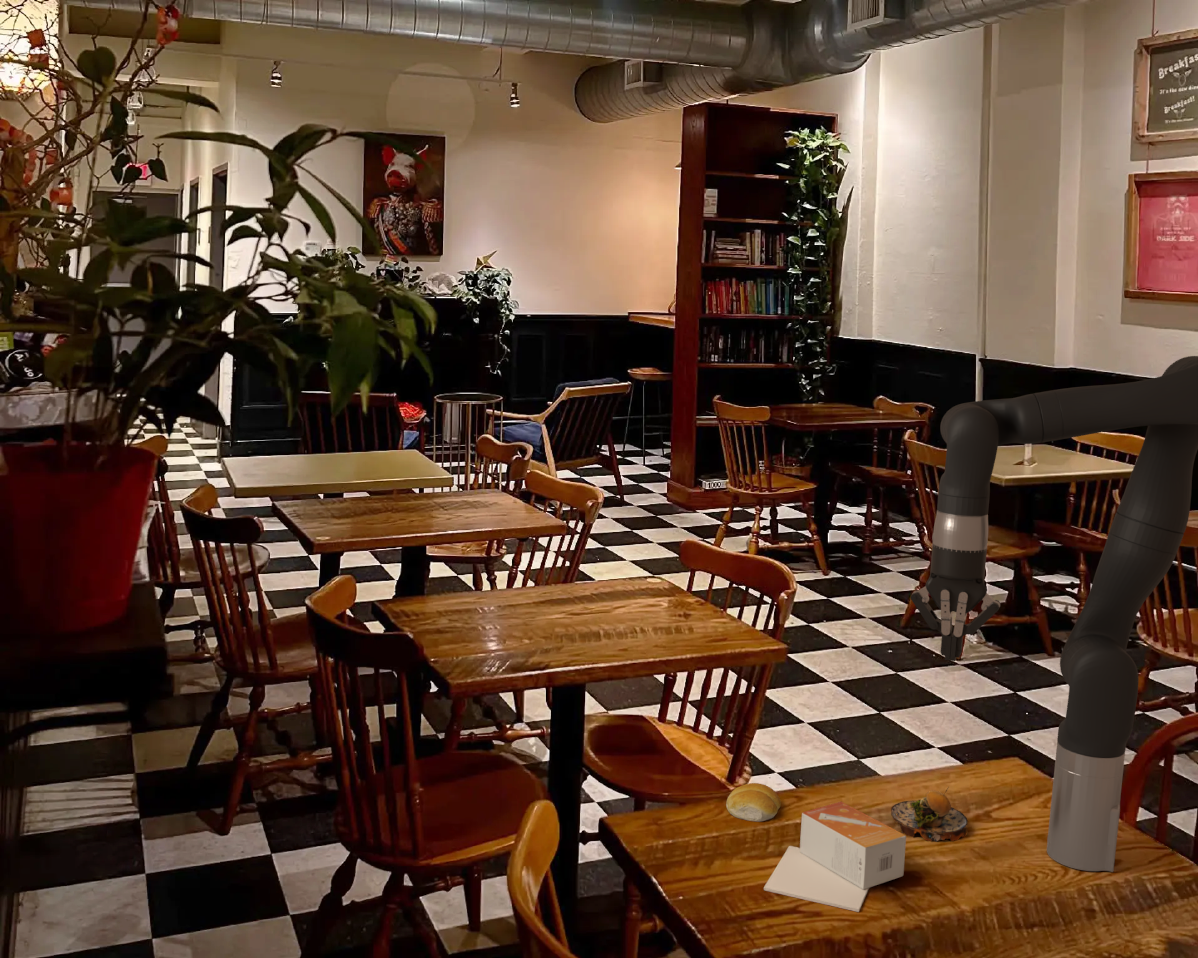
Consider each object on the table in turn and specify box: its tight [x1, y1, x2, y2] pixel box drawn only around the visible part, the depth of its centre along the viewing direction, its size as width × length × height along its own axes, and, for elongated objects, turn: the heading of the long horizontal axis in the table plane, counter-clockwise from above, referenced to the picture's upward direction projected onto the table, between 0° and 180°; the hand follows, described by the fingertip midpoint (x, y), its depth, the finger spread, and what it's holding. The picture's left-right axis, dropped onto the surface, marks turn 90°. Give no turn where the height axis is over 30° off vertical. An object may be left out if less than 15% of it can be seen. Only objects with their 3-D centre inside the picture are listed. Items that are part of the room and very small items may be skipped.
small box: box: [799, 801, 907, 889], centre depth 170 cm, size 8×6×13 cm
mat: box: [763, 845, 870, 913], centre depth 167 cm, size 13×14×1 cm
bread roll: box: [725, 782, 782, 823], centre depth 189 cm, size 8×9×4 cm
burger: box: [890, 787, 969, 843], centre depth 185 cm, size 12×12×8 cm
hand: (950, 658), depth 174 cm, fingers closed
